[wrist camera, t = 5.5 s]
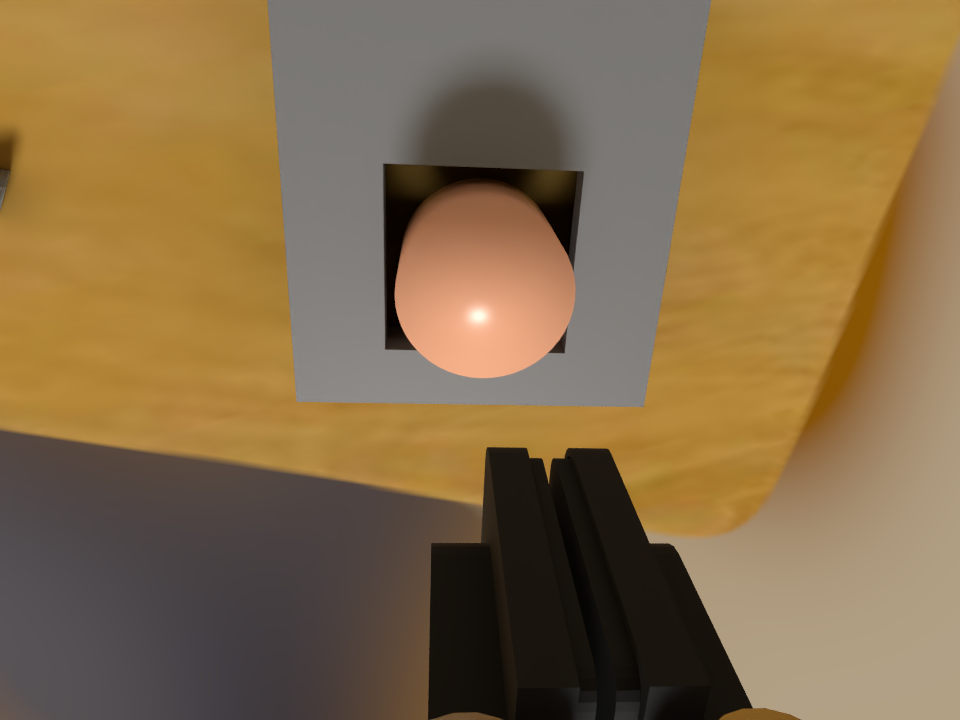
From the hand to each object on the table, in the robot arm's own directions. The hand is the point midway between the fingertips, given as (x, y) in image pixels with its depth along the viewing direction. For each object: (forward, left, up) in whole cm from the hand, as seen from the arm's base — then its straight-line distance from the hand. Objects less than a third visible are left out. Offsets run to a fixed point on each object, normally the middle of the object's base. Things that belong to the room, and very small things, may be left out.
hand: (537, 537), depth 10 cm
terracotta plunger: (0, 0, -14) cm, 14 cm away
